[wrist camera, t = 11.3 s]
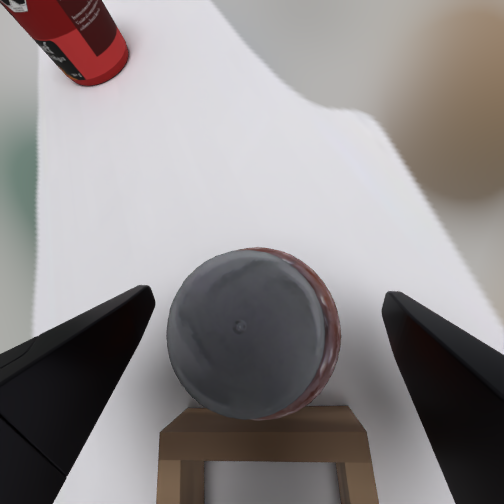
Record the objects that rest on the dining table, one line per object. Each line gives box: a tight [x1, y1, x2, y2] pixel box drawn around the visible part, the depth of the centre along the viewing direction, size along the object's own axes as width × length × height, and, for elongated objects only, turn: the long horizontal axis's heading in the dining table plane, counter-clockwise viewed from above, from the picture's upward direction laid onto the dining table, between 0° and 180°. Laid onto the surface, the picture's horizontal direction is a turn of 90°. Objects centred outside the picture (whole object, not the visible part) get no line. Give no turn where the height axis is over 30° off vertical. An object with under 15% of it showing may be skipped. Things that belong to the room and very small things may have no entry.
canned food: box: [0, 0, 128, 86], centre depth 22 cm, size 8×8×11 cm
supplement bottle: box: [167, 247, 341, 420], centre depth 11 cm, size 6×6×11 cm
